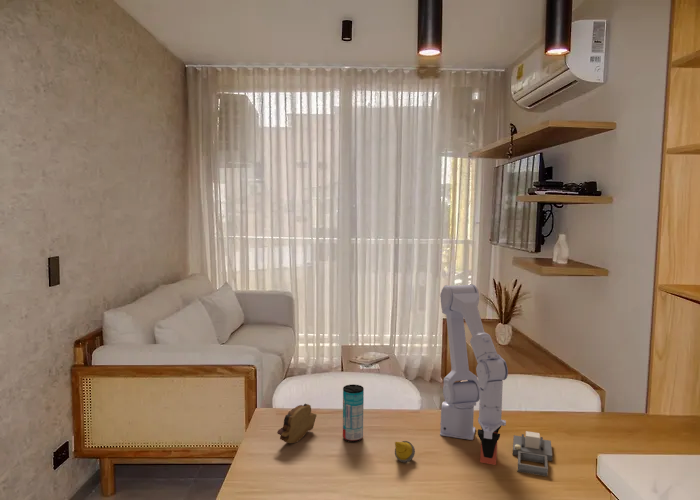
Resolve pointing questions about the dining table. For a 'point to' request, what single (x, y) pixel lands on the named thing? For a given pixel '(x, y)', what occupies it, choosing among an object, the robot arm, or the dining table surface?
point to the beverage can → (353, 412)
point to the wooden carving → (297, 423)
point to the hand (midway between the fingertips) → (488, 453)
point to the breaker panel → (543, 448)
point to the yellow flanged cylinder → (404, 451)
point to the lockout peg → (489, 460)
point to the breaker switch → (532, 440)
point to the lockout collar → (531, 468)
